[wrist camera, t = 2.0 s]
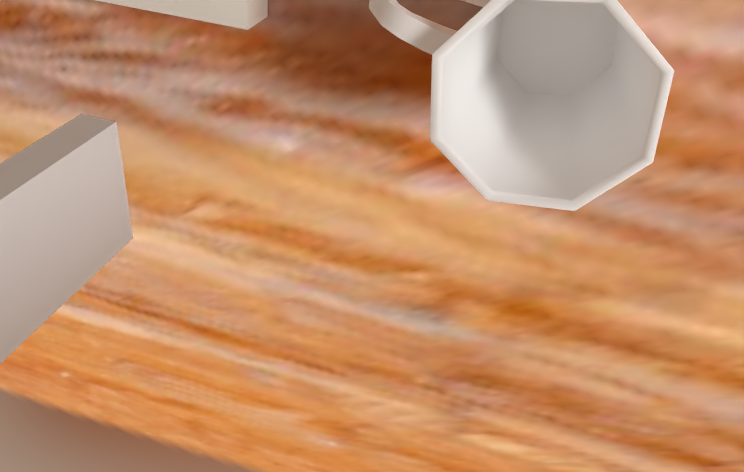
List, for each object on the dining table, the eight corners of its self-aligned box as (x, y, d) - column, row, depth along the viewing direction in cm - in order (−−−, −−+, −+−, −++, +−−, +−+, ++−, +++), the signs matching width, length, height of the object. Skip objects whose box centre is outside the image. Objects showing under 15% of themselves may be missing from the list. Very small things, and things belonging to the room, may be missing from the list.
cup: (590, 143, 28) (586, 250, 21) (373, 37, 28) (303, 111, 21) (699, -19, 23) (736, 54, 17) (442, -143, 23) (381, -118, 17)
